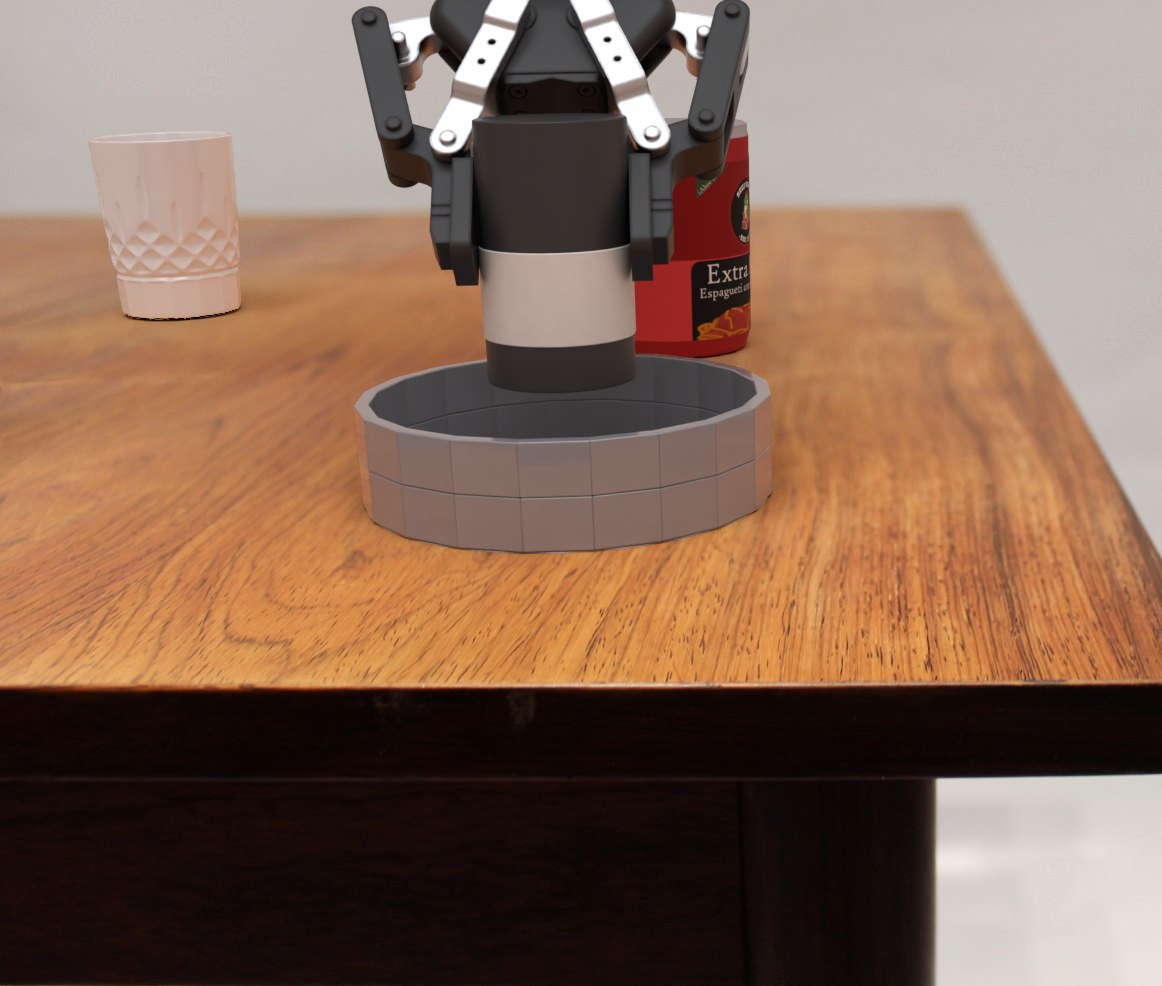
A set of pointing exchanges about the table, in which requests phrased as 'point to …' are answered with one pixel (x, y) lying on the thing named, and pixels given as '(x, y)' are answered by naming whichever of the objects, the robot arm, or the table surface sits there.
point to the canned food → (702, 266)
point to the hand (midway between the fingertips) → (552, 266)
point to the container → (555, 251)
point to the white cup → (170, 220)
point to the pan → (565, 457)
